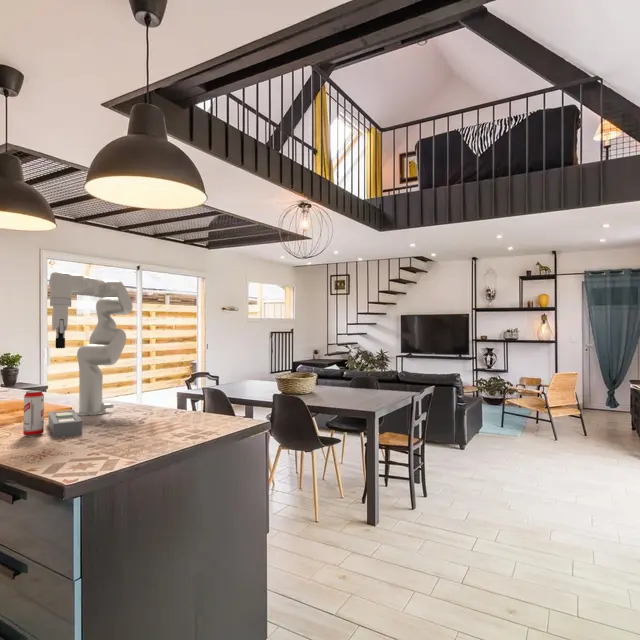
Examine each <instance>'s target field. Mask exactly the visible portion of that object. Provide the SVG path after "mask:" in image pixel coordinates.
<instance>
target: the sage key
mask: <svg viewBox="0 0 640 640" xmlns="http://www.w3.org/2000/svg"><path fill="white" fill-rule="evenodd" d="M66 417H73V414H72V413H61V414H57V418H66Z"/></svg>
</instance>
